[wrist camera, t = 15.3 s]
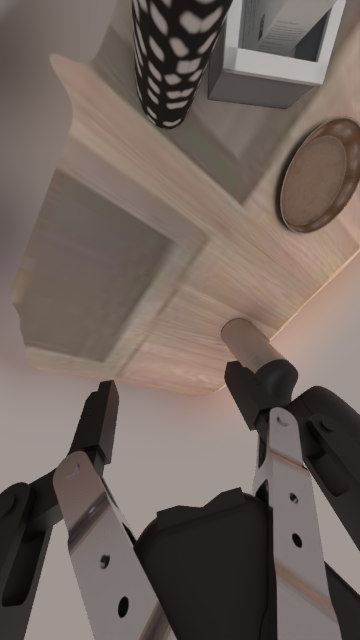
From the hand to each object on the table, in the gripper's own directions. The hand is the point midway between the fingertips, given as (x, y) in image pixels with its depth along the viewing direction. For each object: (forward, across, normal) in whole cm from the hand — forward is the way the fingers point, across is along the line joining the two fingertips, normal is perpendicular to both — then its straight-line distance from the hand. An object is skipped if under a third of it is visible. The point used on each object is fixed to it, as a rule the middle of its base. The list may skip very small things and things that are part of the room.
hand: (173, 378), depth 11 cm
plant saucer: (+31, -35, -16) cm, 49 cm away
